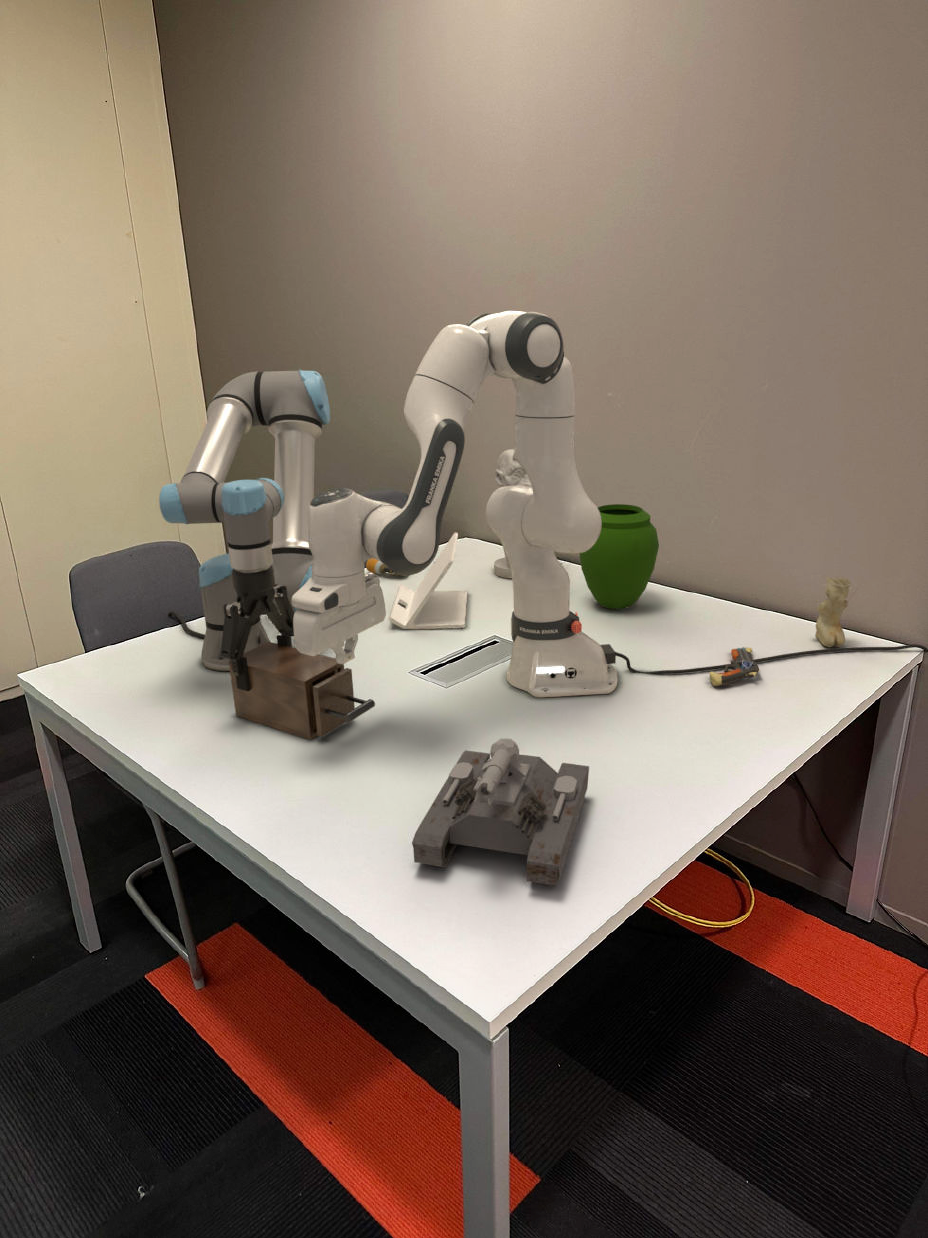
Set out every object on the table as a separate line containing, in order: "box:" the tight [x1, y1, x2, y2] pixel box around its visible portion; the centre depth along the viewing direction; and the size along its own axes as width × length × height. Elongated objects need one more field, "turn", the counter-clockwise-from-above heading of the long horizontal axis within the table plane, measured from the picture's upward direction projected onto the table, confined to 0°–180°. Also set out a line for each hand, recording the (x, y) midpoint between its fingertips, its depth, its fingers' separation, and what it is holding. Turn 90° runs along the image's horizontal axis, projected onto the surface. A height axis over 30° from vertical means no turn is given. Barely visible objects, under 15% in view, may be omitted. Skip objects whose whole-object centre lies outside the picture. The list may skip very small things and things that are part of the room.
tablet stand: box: [388, 531, 468, 630], centre depth 211 cm, size 18×25×17 cm
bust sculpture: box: [493, 448, 532, 579], centre depth 231 cm, size 16×24×35 cm
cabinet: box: [228, 641, 345, 741], centre depth 160 cm, size 19×10×12 cm, turn 57°
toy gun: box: [709, 646, 761, 687], centre depth 175 cm, size 3×19×10 cm
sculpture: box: [814, 576, 852, 648], centre depth 185 cm, size 6×7×15 cm
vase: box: [578, 503, 660, 610], centre depth 210 cm, size 20×20×24 cm
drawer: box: [309, 667, 376, 738], centre depth 157 cm, size 24×9×10 cm, turn 57°
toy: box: [411, 737, 590, 886], centre depth 122 cm, size 25×20×15 cm
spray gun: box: [365, 558, 406, 577], centre depth 247 cm, size 4×17×15 cm
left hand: (265, 678), depth 163 cm, fingers closed on cabinet, 10 cm apart
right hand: (345, 661), depth 149 cm, fingers closed
